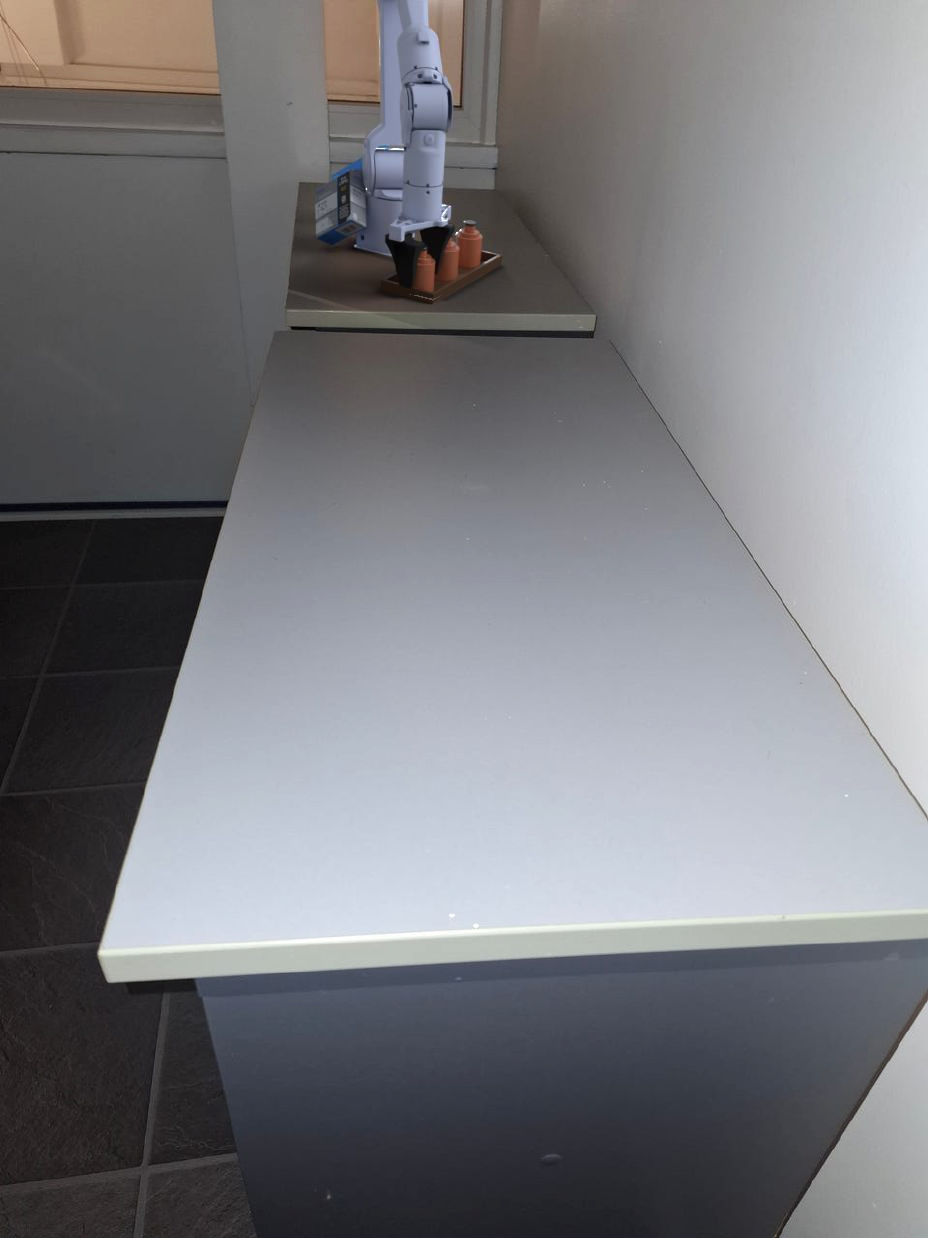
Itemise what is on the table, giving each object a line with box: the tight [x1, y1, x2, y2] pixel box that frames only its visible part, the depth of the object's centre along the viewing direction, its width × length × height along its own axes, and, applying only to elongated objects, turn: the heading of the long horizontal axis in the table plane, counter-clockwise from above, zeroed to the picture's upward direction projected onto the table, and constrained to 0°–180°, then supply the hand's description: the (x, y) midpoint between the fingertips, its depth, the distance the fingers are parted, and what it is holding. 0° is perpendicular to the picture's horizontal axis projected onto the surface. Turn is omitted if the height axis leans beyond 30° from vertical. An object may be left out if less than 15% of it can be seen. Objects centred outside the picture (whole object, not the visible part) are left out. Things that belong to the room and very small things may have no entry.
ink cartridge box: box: [314, 156, 366, 246], centre depth 141 cm, size 9×4×12 cm
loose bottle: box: [413, 245, 435, 292], centre depth 129 cm, size 4×4×6 cm
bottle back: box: [454, 219, 484, 268], centre depth 140 cm, size 4×4×6 cm
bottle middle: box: [434, 233, 459, 281], centre depth 134 cm, size 4×4×6 cm
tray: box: [379, 249, 503, 305], centre depth 136 cm, size 23×9×2 cm, turn 152°
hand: (418, 279), depth 130 cm, fingers open, 7 cm apart
